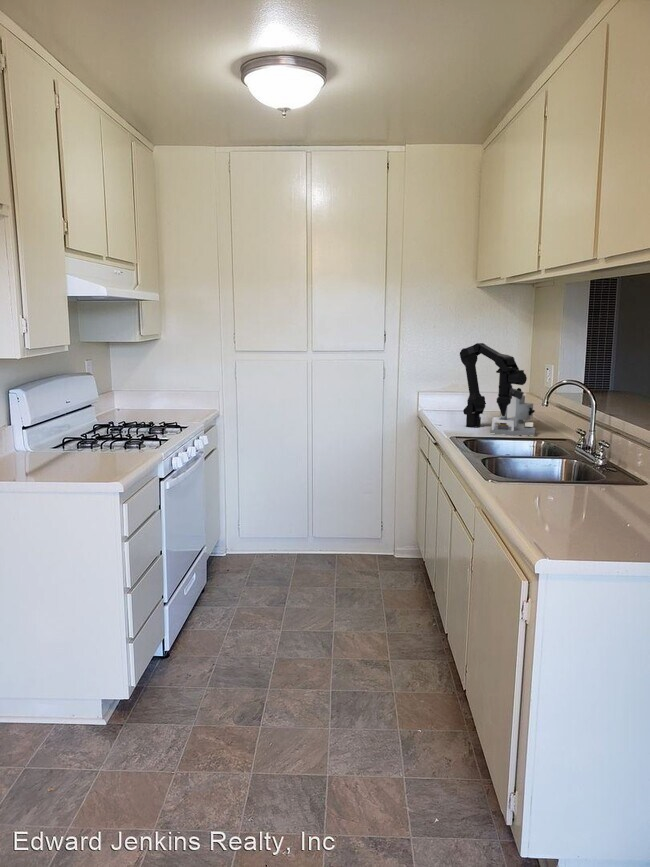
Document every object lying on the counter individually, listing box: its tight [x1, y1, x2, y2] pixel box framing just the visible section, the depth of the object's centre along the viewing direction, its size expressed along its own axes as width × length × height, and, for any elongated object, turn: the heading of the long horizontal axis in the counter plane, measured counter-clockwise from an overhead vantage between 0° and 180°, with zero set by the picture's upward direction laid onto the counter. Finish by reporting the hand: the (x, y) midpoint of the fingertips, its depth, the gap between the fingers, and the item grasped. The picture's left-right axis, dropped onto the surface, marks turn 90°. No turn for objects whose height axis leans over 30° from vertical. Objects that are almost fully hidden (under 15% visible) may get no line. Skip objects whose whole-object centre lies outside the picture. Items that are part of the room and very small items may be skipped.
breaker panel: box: [489, 416, 536, 437], centre depth 309 cm, size 20×12×6 cm, turn 72°
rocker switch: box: [524, 421, 534, 427], centre depth 307 cm, size 4×4×1 cm
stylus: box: [499, 409, 507, 425], centre depth 310 cm, size 3×3×10 cm
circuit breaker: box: [506, 394, 536, 427], centre depth 328 cm, size 8×14×15 cm, turn 53°
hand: (503, 415), depth 310 cm, fingers closed on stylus, 3 cm apart
